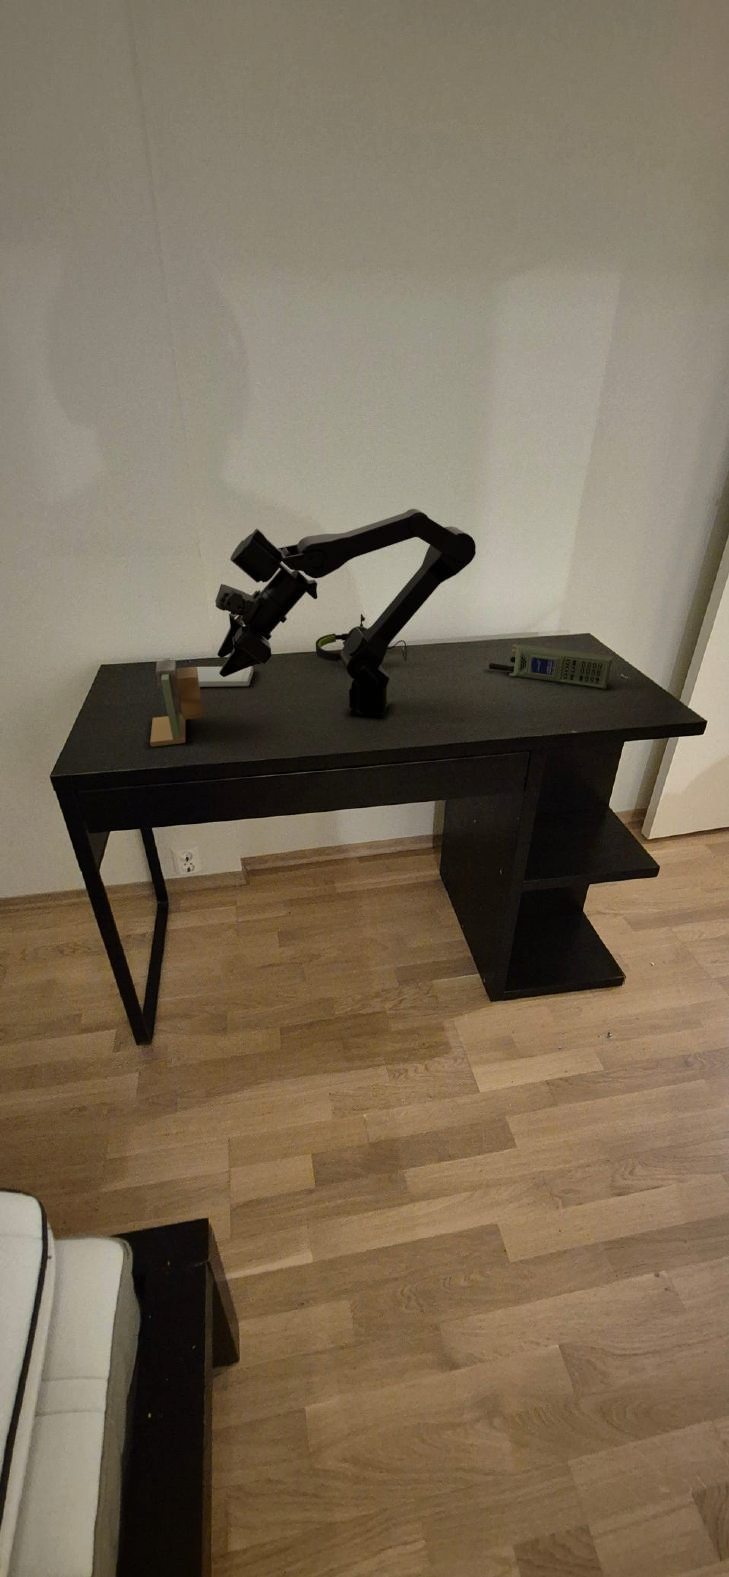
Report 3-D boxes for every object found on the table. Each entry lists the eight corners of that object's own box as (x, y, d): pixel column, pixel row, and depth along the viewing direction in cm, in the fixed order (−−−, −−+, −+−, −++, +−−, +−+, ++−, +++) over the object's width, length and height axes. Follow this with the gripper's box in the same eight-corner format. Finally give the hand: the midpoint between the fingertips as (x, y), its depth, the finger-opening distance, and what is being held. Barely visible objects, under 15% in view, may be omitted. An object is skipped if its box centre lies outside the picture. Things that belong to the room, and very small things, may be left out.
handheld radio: (605, 690, 136) (486, 674, 144) (607, 685, 139) (490, 669, 147) (612, 659, 133) (489, 644, 141) (613, 654, 135) (493, 640, 143)
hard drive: (188, 680, 139) (247, 679, 139) (196, 666, 146) (252, 665, 146) (190, 688, 140) (248, 687, 140) (198, 673, 147) (253, 672, 147)
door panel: (185, 719, 127) (174, 657, 121) (185, 743, 119) (173, 678, 112) (153, 722, 126) (141, 660, 120) (151, 746, 118) (137, 682, 111)
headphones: (408, 629, 141) (315, 633, 139) (407, 671, 146) (317, 675, 145) (399, 607, 154) (313, 610, 153) (398, 646, 159) (315, 649, 158)
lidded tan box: (202, 706, 124) (195, 657, 119) (203, 717, 120) (195, 668, 115) (165, 709, 123) (157, 661, 118) (165, 721, 119) (155, 671, 114)
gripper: (236, 555, 118) (183, 620, 122) (244, 583, 102) (182, 657, 106) (283, 596, 123) (231, 657, 127) (297, 628, 108) (236, 696, 112)
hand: (220, 665), depth 118 cm, fingers open, 9 cm apart
